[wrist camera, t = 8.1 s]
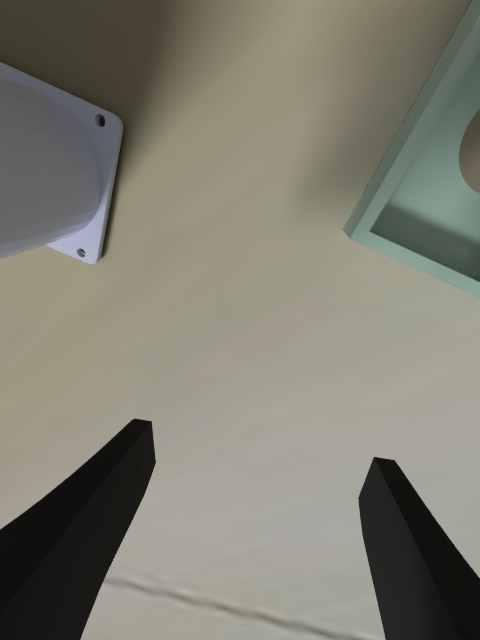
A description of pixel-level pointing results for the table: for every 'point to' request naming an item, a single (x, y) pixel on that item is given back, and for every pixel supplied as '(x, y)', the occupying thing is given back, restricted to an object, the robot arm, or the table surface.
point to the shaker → (471, 153)
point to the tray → (431, 174)
